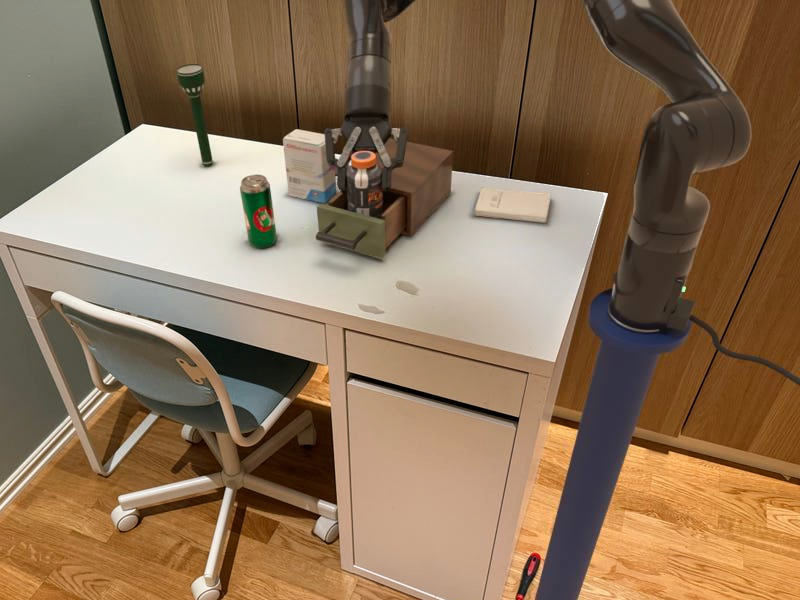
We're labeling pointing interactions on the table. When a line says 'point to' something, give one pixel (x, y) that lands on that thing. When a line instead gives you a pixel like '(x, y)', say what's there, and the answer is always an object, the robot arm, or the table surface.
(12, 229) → the table surface
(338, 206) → the drawer
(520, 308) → the table surface
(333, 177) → the ink box
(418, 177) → the cabinet
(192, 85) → the flashlight
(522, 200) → the hard drive
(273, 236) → the soda can
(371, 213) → the pill bottle
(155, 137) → the table surface
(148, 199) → the table surface
